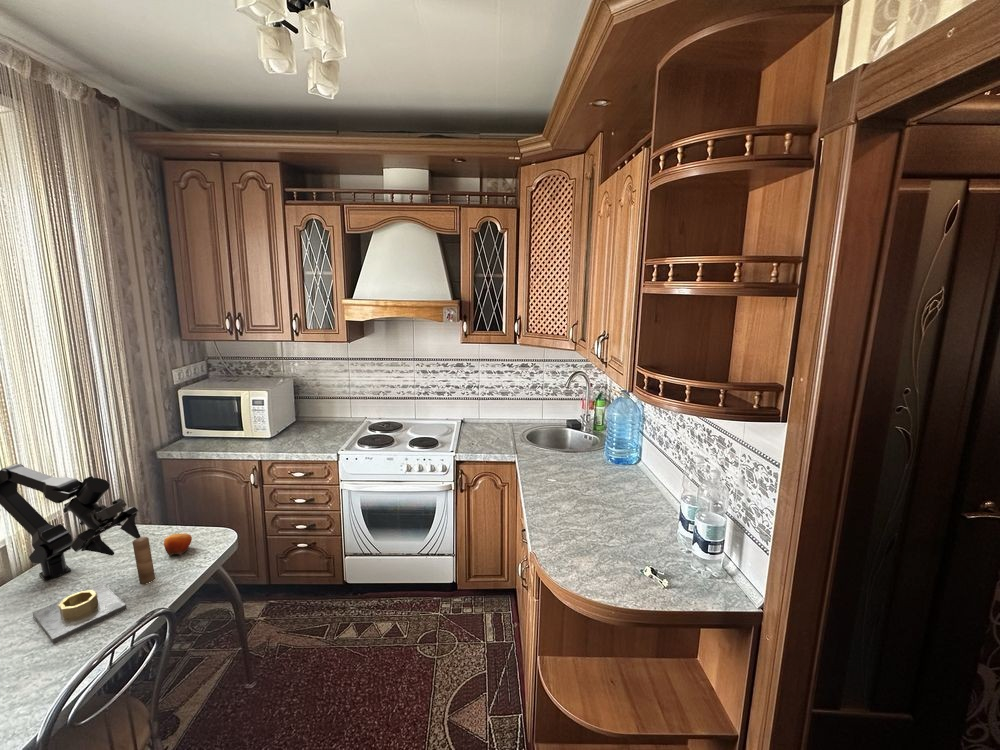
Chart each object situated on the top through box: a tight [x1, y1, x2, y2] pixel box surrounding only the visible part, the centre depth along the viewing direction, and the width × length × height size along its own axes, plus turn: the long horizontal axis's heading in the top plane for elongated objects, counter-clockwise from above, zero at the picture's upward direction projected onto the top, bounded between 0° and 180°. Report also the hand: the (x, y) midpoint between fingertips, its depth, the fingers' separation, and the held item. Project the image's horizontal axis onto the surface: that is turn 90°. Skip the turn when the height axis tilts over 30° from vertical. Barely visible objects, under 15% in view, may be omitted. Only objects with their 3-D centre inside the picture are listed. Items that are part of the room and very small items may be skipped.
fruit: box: [163, 532, 193, 557], centre depth 165 cm, size 8×8×8 cm
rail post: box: [132, 536, 156, 585], centre depth 149 cm, size 4×4×14 cm
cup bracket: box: [32, 582, 127, 645], centre depth 135 cm, size 18×16×4 cm
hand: (126, 546), depth 149 cm, fingers open, 9 cm apart
